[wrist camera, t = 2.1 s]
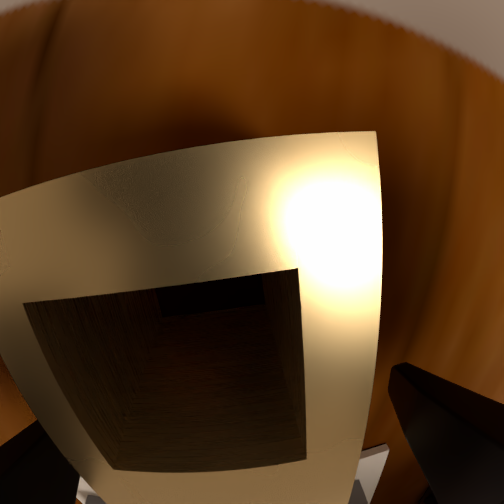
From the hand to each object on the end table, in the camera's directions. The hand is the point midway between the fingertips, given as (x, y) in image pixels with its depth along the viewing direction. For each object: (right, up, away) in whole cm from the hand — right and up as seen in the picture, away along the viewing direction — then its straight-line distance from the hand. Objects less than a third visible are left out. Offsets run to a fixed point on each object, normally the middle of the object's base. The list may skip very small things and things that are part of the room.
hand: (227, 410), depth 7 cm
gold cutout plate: (0, +1, +2) cm, 2 cm away
